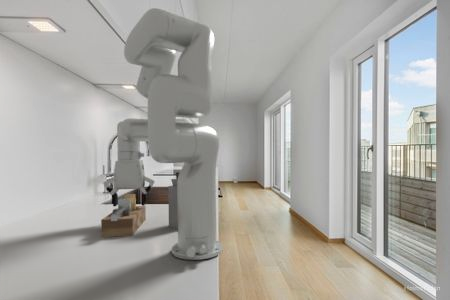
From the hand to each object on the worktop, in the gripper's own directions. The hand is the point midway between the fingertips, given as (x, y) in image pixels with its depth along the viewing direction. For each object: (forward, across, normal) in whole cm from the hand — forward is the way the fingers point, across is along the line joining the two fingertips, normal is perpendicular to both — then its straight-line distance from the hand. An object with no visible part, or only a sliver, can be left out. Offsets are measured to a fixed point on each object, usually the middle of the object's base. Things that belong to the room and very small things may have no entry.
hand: (129, 205), depth 98 cm
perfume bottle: (+7, -19, +6) cm, 21 cm away
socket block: (+6, 0, +5) cm, 8 cm away
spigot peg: (+6, 0, 0) cm, 6 cm away
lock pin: (+1, 0, +12) cm, 12 cm away
